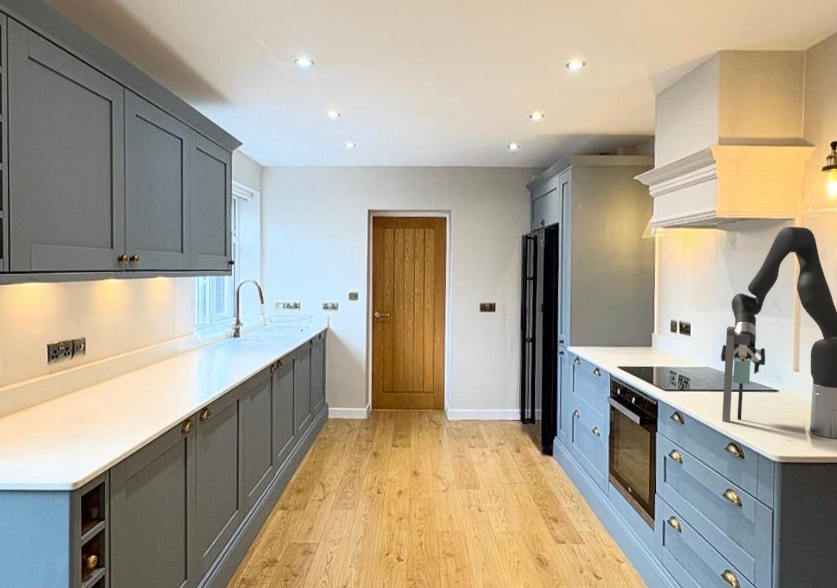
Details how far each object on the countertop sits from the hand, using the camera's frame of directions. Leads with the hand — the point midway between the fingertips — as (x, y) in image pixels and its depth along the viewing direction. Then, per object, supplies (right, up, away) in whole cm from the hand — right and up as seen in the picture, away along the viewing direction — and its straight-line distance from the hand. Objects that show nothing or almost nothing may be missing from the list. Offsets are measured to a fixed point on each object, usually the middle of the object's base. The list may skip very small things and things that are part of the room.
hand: (741, 370), depth 208 cm
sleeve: (+1, -4, +1) cm, 4 cm away
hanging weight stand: (-3, -19, -1) cm, 19 cm away
